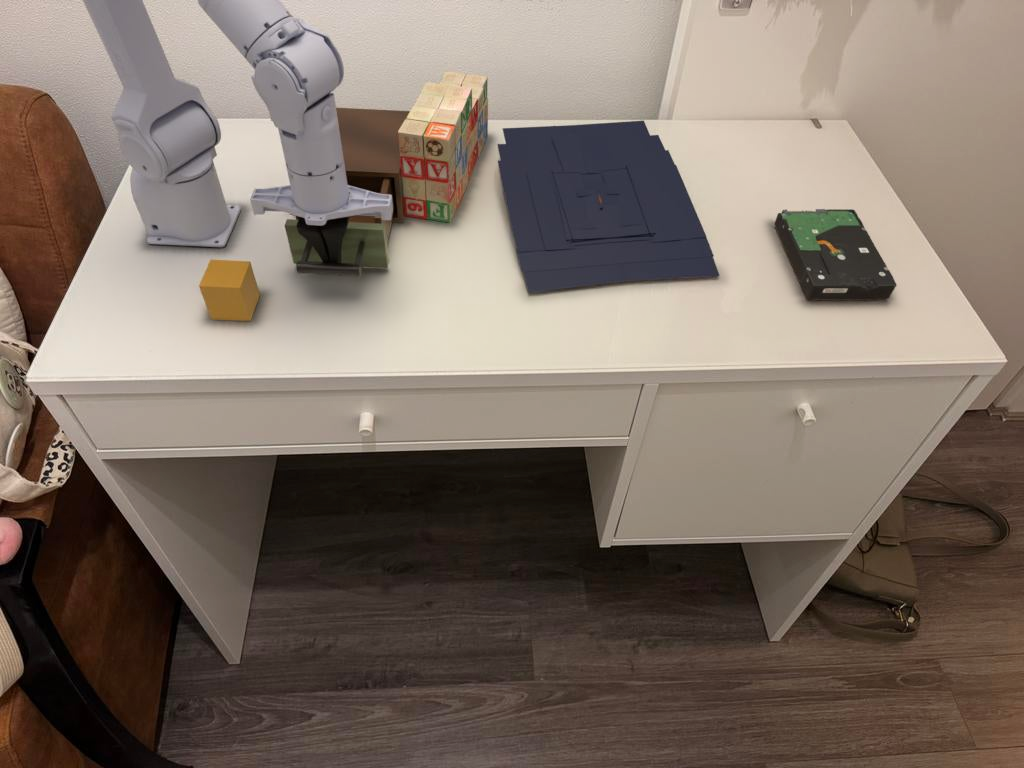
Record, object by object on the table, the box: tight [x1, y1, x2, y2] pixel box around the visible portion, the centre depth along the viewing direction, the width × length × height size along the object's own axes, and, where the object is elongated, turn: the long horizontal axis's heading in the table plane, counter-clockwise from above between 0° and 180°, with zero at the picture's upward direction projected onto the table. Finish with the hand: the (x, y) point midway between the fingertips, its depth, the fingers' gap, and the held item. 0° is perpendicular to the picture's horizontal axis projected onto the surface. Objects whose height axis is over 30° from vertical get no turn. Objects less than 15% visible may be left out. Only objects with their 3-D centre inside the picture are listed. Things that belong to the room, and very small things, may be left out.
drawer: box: [284, 175, 396, 277], centre depth 89 cm, size 19×11×6 cm, turn 179°
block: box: [198, 259, 261, 322], centre depth 83 cm, size 4×4×5 cm
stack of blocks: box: [398, 71, 489, 224], centre depth 99 cm, size 21×6×12 cm, turn 168°
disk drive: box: [774, 208, 897, 301], centre depth 93 cm, size 10×3×15 cm
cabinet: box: [336, 107, 411, 224], centre depth 98 cm, size 14×12×7 cm
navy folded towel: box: [497, 120, 721, 294], centre depth 98 cm, size 24×30×4 cm
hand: (333, 264), depth 85 cm, fingers closed, pressing on drawer
